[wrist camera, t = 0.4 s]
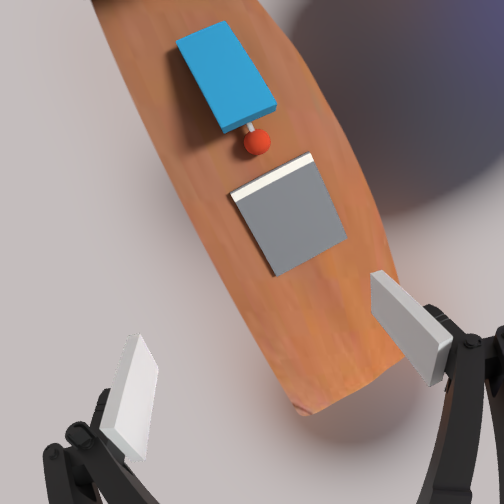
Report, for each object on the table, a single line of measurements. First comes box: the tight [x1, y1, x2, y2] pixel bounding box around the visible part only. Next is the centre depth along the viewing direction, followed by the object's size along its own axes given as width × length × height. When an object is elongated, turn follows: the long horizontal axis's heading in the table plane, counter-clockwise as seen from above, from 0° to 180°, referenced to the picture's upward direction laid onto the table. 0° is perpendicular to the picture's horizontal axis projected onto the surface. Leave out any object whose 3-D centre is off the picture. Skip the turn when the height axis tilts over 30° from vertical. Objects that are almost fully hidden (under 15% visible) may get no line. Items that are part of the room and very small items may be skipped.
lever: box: [176, 21, 277, 155], centre depth 34 cm, size 7×7×18 cm
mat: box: [230, 152, 347, 276], centre depth 42 cm, size 14×12×1 cm
